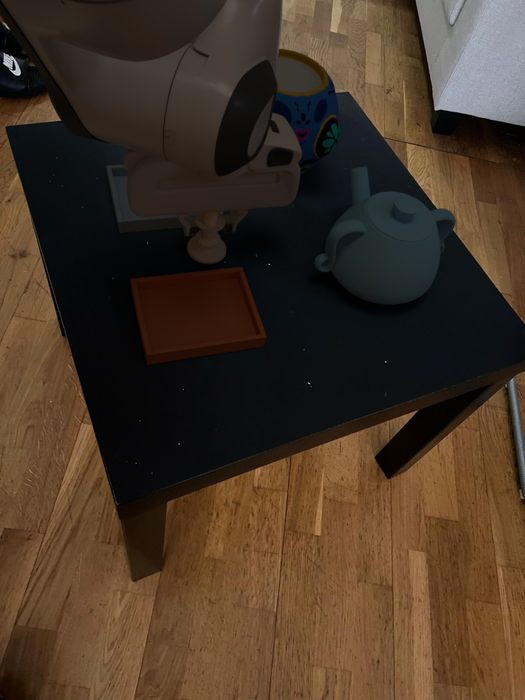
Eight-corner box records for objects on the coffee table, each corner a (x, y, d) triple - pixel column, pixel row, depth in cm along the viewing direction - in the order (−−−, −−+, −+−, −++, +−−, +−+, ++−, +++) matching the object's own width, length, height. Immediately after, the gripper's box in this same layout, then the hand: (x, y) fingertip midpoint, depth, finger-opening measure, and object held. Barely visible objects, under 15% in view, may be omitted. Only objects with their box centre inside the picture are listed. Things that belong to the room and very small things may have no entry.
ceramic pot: (232, 206, 78) (246, 112, 66) (201, 130, 87) (208, 35, 75) (339, 196, 84) (371, 107, 71) (300, 125, 92) (322, 35, 80)
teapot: (330, 327, 69) (362, 260, 59) (278, 218, 79) (297, 144, 68) (457, 303, 75) (505, 239, 65) (394, 205, 85) (428, 135, 74)
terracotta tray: (146, 365, 61) (146, 355, 60) (130, 289, 67) (130, 278, 65) (263, 346, 66) (266, 337, 64) (239, 277, 71) (242, 266, 69)
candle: (219, 233, 74) (227, 172, 66) (231, 261, 72) (241, 201, 63) (182, 238, 73) (186, 176, 64) (193, 267, 70) (199, 206, 62)
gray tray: (119, 233, 72) (118, 221, 70) (107, 177, 77) (106, 165, 76) (221, 224, 76) (223, 213, 74) (203, 172, 81) (204, 160, 80)
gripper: (127, 160, 53) (131, 256, 65) (316, 152, 59) (289, 241, 71) (117, 121, 56) (123, 219, 68) (297, 117, 62) (275, 208, 74)
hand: (209, 230), depth 69 cm, fingers closed on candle, 4 cm apart
